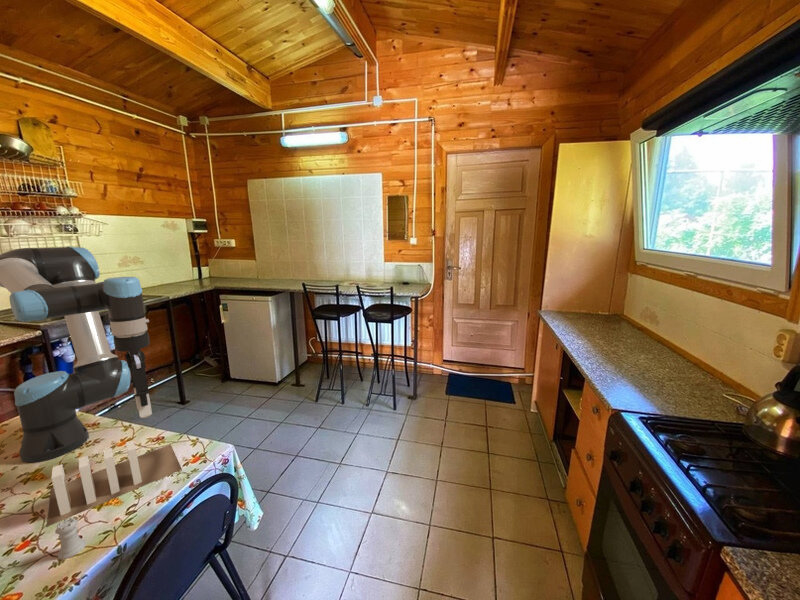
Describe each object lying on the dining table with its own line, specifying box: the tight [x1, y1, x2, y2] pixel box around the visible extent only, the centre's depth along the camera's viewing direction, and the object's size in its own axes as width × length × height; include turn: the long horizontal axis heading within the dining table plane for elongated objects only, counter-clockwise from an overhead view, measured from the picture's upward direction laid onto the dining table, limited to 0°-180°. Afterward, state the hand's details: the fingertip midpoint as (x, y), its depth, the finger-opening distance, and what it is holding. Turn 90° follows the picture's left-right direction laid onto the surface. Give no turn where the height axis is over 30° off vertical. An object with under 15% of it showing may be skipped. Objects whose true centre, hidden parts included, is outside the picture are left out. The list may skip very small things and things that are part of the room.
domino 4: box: [125, 439, 142, 485], centre depth 87 cm, size 2×5×10 cm, turn 44°
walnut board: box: [46, 443, 183, 528], centre depth 88 cm, size 26×16×2 cm, turn 134°
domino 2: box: [78, 455, 96, 505], centre depth 81 cm, size 2×5×10 cm, turn 44°
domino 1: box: [51, 463, 71, 515], centre depth 78 cm, size 2×5×10 cm, turn 44°
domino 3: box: [102, 447, 120, 494], centre depth 84 cm, size 2×5×10 cm, turn 44°
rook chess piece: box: [54, 517, 87, 560], centre depth 67 cm, size 4×4×8 cm
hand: (144, 411), depth 94 cm, fingers closed on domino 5, 5 cm apart
